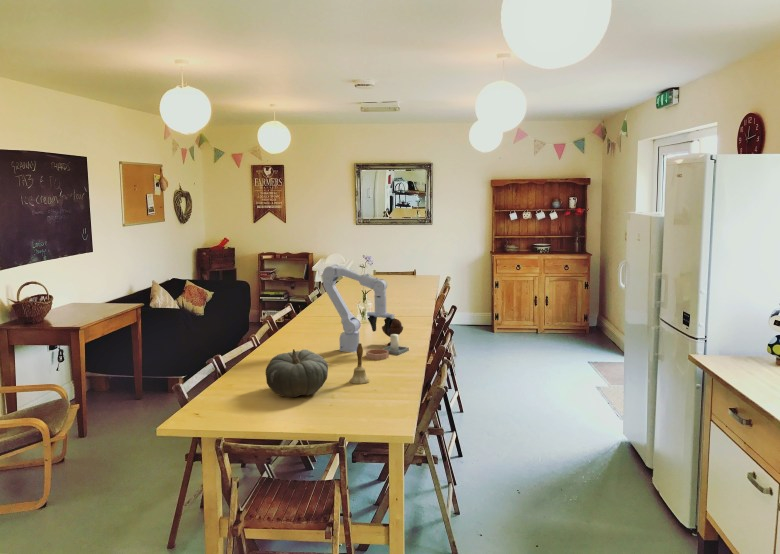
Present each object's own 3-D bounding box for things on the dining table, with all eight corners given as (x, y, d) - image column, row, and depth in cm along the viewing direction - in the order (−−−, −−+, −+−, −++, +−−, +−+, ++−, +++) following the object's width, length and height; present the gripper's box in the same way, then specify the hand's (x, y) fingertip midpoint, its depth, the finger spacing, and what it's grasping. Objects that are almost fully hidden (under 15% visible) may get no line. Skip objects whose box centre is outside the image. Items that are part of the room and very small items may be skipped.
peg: (389, 351, 300) (388, 335, 299) (393, 349, 303) (393, 333, 302) (396, 352, 298) (395, 336, 297) (400, 350, 301) (400, 334, 300)
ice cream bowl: (385, 348, 309) (385, 318, 307) (379, 342, 320) (379, 314, 318) (405, 346, 312) (405, 317, 310) (399, 341, 323) (399, 313, 321)
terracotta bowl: (362, 358, 289) (362, 352, 288) (374, 353, 298) (373, 347, 297) (381, 362, 283) (381, 355, 283) (392, 356, 292) (392, 350, 292)
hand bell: (354, 377, 259) (354, 340, 257) (372, 379, 256) (372, 342, 254) (346, 382, 252) (345, 345, 250) (364, 385, 249) (364, 346, 247)
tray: (380, 353, 299) (380, 349, 299) (391, 349, 307) (391, 345, 307) (398, 356, 294) (398, 352, 293) (408, 351, 302) (408, 347, 302)
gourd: (317, 371, 258) (314, 334, 252) (340, 398, 237) (338, 357, 231) (259, 386, 247) (255, 347, 241) (278, 415, 226) (275, 373, 220)
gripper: (363, 304, 297) (364, 332, 299) (389, 307, 290) (389, 335, 292) (371, 302, 303) (371, 329, 305) (396, 304, 296) (396, 332, 298)
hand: (380, 331), depth 299 cm, fingers open, 7 cm apart
